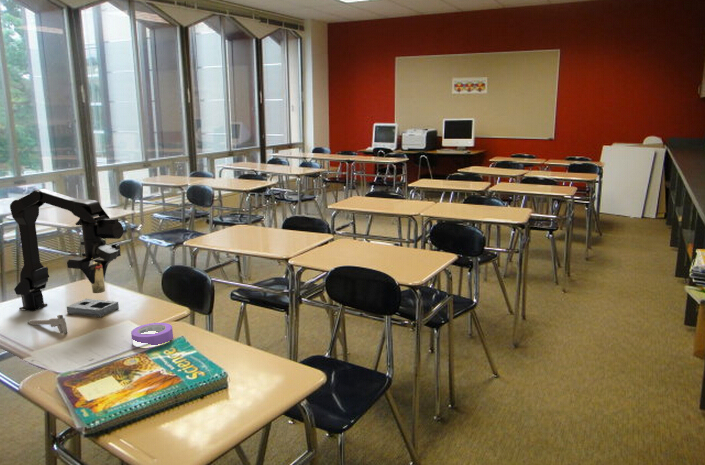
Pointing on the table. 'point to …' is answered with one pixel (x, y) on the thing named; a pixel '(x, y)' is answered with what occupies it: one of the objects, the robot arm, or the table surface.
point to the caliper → (52, 323)
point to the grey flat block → (92, 307)
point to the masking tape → (153, 339)
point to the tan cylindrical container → (98, 278)
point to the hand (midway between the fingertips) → (97, 281)
